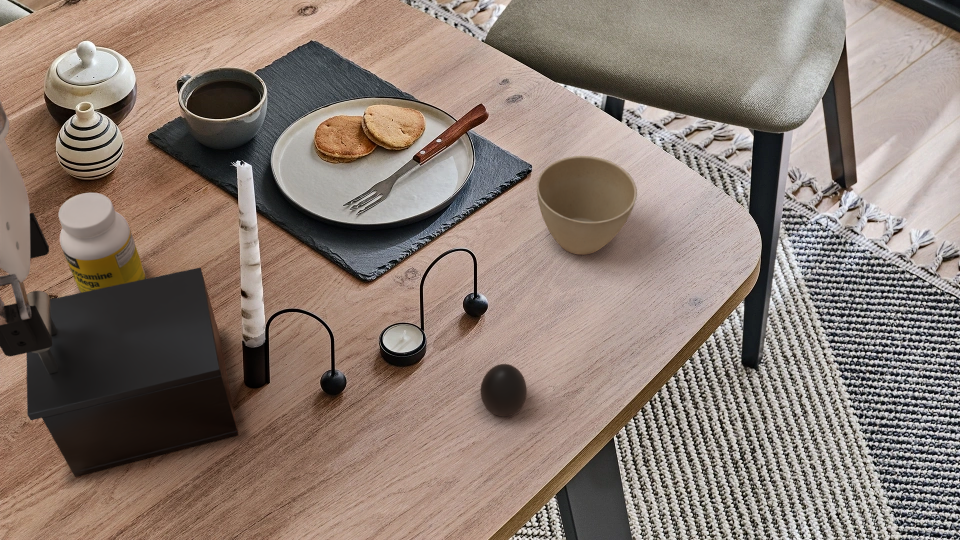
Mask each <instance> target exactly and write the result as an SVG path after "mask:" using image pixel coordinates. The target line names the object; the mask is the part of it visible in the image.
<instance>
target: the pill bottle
mask: <svg viewBox="0 0 960 540" xmlns="http://www.w3.org/2000/svg"><path fill="white" fill-rule="evenodd" d="M58 220H59V222H60V225H61V230H60V232H59V244H60V247H61V250H62V252H63V255H64V258H65V260H66V262H67V265H68V267H69V270H70V273H71V274H72V276H73V279H74V281H75V285H76V286H77V289H78V291H79V293H82V292H87V291H91V290H96V289H101V288H105V287H110V286H115V285H120V284H124V283H129V282H134V281H138V280H143V279H147V275H146V272H145V268H144V265H143V263H142V260H141V256H140V254H139V251H138V248H137V245H136V242H135V239H134V236H133V233H132V230H131V227H130V224H129V223H128V220H127V219H126V218H125V216H123V215H122V214H121V213H119V212H118V211H116V209H115V206H114V205H113V202H112V200H111V198H109V197H108V196H107V195H105V194H102V193H100V192H99V193H98V192H84V193H79V194H76V195H74V196H72V197H70V198H69V199H67V200H66V201H64V202H63V203H62V204H61V206H60V208H59V210H58Z"/></svg>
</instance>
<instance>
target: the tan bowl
mask: <svg viewBox="0 0 960 540" xmlns="http://www.w3.org/2000/svg"><path fill="white" fill-rule="evenodd" d="M536 196H537V202H538V206H539V207H538V208H539V210H540V214H541V217H542V219H543V222H544V224H545V226H546V228H547V230H548V231H549V233H550V235H551V236H552V238H553V239H554V240H555V242H556V243H557V244H558V245H559V246H560V247H561V248H562V249H563V250H565V251H566V252H568V253H571V254H573V255H581V256H582V255H583V256H585V255H591V254H594V253H596V252H598V251H600V250H601V249H602V248H603V247H605V246H606V245H608V244H609V243H610V242H611V241H612V240H613V239H614V238H615V237H616V236H617V235H618V233H619V232H620V231H621V230H622V228H623V227H624V226H625V225H626V223H627V221H628V219H629V217H630V215H631V214H632V211H633V209H634V206H635V204H636V200H637V198H638V197H637V196H638V188H637V185H636V182H635V180H634V178H633V177H632V176H631V174H629V172H628V171H627V170H625V169H624V168H623V167H621V166H620V165H618V164H617V163H615V162H613V161H610V160H608V159H605V158H602V157H597V156H591V155H574V156H568V157H563V158H561V159H557V160H555V161H553V162H552V163H550V164H548V165H547V166H546V167H545V168H544V169H543V170H542V171H541V172H540V174H539V176H538V178H537V182H536Z"/></svg>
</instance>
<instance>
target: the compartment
mask: <svg viewBox="0 0 960 540" xmlns="http://www.w3.org/2000/svg"><path fill="white" fill-rule="evenodd" d="M203 279H204V284H205V290H206V295H207V301H208V306H209V312H210V317H211V323H212V328H213V333H214V339H215V344H216V350H217V355H218V361H219V366H220V371H221V375H219V376H215V377H211V378H207V379H202V380H198V381H194V382H190V383H186V384H181V385H177V386H173V387H169V388H165V389H161V390H156V391H152V392H148V393H144V394H140V395H136V396H131V397H127V398H123V399H119V400H115V401H110V402H106V403H102V404H98V405H94V406H90V407H85V408H81V409H77V410H73V411H69V412H65V413H60V414H56V415H52V416H48V417H44V418H41V419H42V421H43V422H44V425H45V426H46V429H47V430H48V432H49V434H50V435H51V437H52V439H53V441H54V443H55V444H56V447H57V448H58V450H59V452H60V454H61V455H62V456H63V459H64V460H65V462H66V464H67V466H68V468H69V469H70V472H72V475H73V476H74V478H79V477H82V476H87V475H90V474H95V473H100V472H103V471H106V470H110V469H111V470H112V469H114V468H118V467H123V466H126V465H129V464H134V463H138V462H142V461H146V460H149V459H153V458H157V457H161V456H165V455H168V454H173V453H176V452H177V453H178V452H181V451H184V450H188V449H192V448H196V447H201V446H204V445H208V444H212V443H216V442H220V441H223V440H227V439H228V440H229V439H232V438H235V437H239V436H240V433H239V429H238V423H237V418H236V413H235V408H234V401H233V396H232V391H231V386H230V382H229V376H228V371H227V364H226V359H225V354H224V349H223V344H222V339H221V334H220V331H219V327H218V324H217V320H216V315H215V313H214V310H213V306H212V303H211V298H210V295H209V291H208V287H207V285H206V282H205V278H204V276H203Z"/></svg>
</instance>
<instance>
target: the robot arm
mask: <svg viewBox="0 0 960 540" xmlns="http://www.w3.org/2000/svg"><path fill="white" fill-rule="evenodd" d="M9 130H10V119H9V117H8V114H7V112H6V109H5V107H4V105H3V102H2V100H1V99H0V269H2V271H4V272H6V273H7V274H5V275H0V287H3V286H8V285H11V289H12V291H13V296H14V299H15V303H10V304H6V305H5V302H4V301H3V300H2V298H1V297H0V349H1V351H2V353H3V354H4V356H5V357H15V356H19V355H24V354H27V353H29V352H33V351H37V350H42V349H46V348H50V347H51V346H52V338H51V336H50V334H49V332H48V330H47V328H46V326H45V324H44V322H43V320H42V318H41V316H40V314H39V312H38V310H37V308H36V306H35V305H34V306H30V305H29V301H28V298H27V294H28V293H27V290H26V287H25V284H24V281H25V280H26V279H27V277H28V276H29V274H30V271H31V259H34V258H39V257H45V256H47V255H48V254H49V253H50V245H49V243H48V241H47V239H46V237H45V234H44V232H43V230H42V228H41V226H40V223H39V222H38V220H37V216H36V215H35V212H31V207H30V206H31V205H30V200H29V194H28V190H27V188H26V184H25V181H24V178H23V176H22V174H21V171H20V168H19V166H18V163H17V161H16V160H15V158H14V155H13V153H12V151H11V149H10V147H9V145H8V142H7V141H6V139H5V138H7V136H8V134H9Z"/></svg>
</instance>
